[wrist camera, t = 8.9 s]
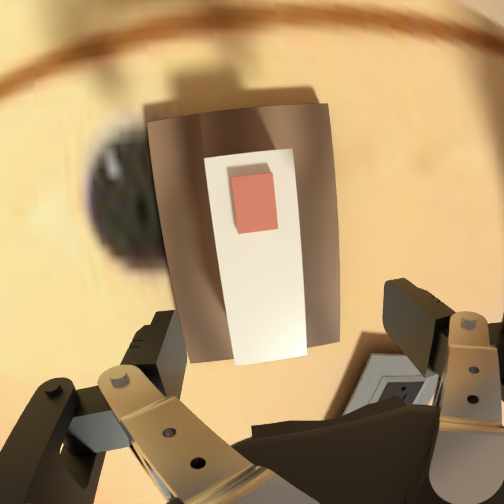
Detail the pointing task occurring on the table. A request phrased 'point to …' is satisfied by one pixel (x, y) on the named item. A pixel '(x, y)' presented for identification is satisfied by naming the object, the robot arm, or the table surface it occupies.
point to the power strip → (259, 253)
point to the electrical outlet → (391, 382)
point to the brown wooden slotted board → (200, 219)
